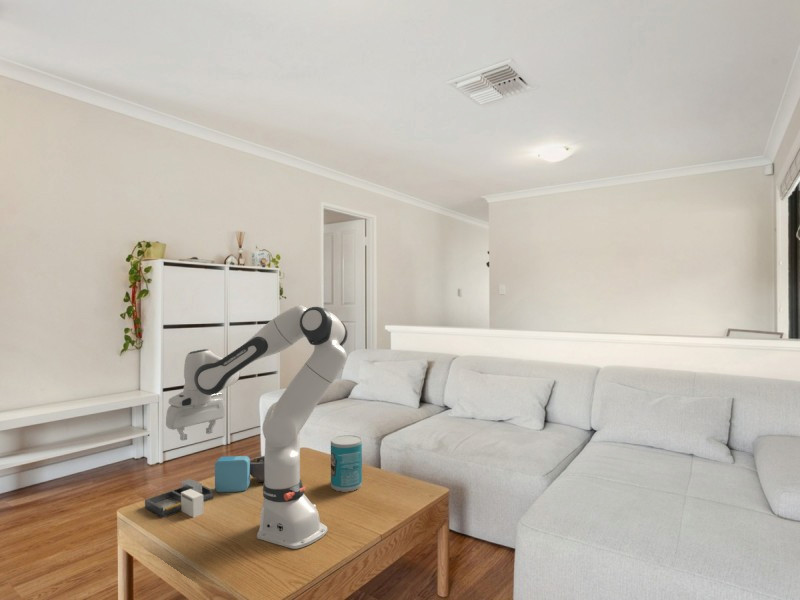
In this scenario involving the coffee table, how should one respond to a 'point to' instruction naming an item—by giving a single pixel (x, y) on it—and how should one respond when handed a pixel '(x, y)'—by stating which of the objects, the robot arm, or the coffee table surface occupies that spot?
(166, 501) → the rack
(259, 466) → the planter
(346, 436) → the food can
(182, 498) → the beige rectangular block
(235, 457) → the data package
